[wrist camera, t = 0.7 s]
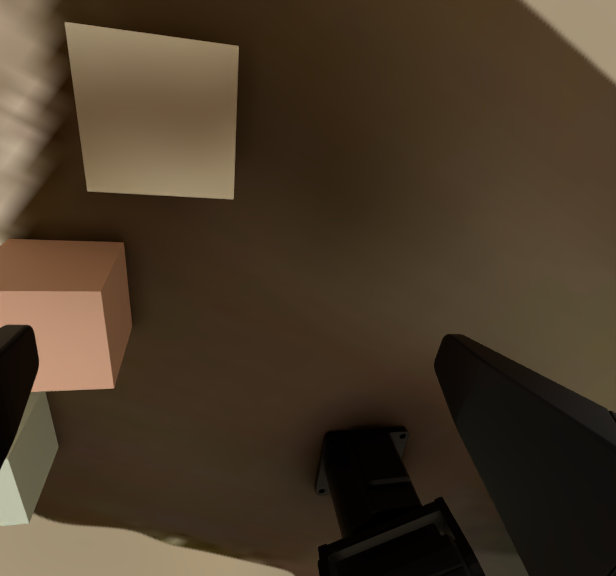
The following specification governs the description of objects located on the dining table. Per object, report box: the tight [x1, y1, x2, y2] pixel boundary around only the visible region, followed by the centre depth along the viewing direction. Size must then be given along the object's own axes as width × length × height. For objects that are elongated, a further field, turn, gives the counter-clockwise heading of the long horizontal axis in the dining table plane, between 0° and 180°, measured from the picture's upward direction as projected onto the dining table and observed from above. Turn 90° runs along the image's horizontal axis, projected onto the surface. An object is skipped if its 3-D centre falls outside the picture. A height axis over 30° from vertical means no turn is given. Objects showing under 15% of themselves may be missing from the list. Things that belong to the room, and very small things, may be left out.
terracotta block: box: [0, 239, 132, 392], centre depth 19 cm, size 5×5×5 cm
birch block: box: [65, 22, 239, 199], centre depth 16 cm, size 5×5×5 cm
